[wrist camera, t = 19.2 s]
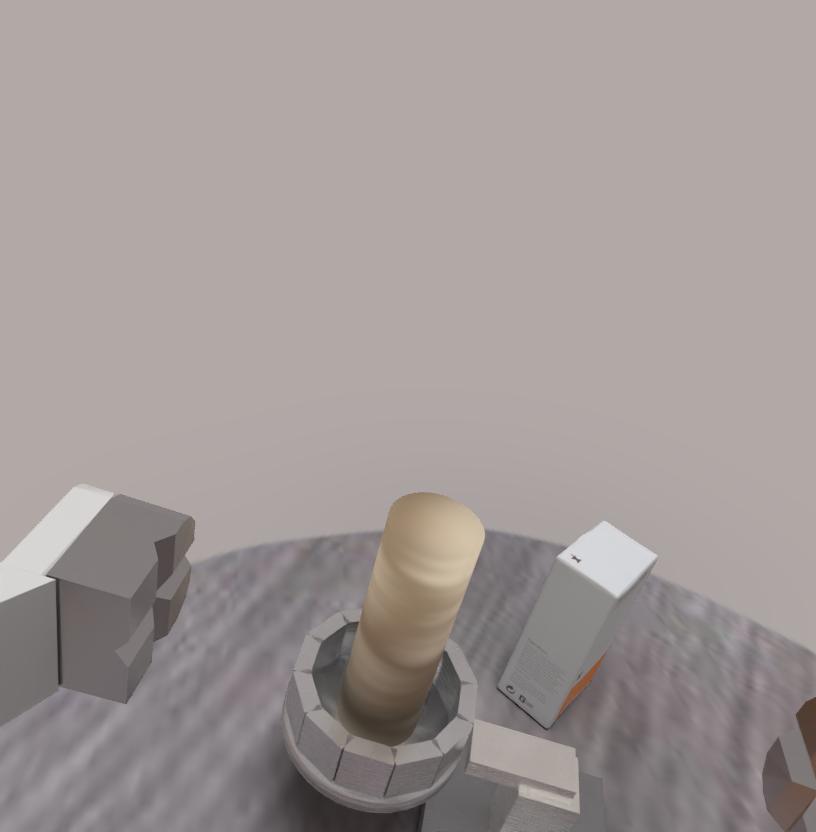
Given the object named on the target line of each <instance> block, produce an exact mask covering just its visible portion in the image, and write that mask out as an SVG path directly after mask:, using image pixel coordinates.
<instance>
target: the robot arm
mask: <svg viewBox="0 0 816 832" xmlns="http://www.w3.org/2000/svg"><path fill="white" fill-rule="evenodd" d="M194 529H195V520H193V518H192V517H191V516H188V515H185V514H182V513H178V512H175V511H172V510H169V509H166V508H162V507H159V506H156V505H153V504H149V503H146V502H144V501H140V500H137V499H134V498H130V497H127V496H124V495H121V494H119V495H118V494H115V493H112V492H109V491H105V490H102V489H99V488H96V487H93V486H90V485H87V484H84V483H83V484H80V485H78V486H75V487H73V488H72V489H71V490H70V491H69V492H68V493H67V494H66V495H65V496H64V497H63V498H62V499H61V500H60V501H59V502H58V503H57V504H56V505H55V506H54V507H53V508H52V509H51V510H50V511H49V512H48V513H47V514H46V515H45V517H44V518H43V519H42V520H41V521H40V522H39V523H38V524H37V525H36V526H35V527H34V528H33V529H32V530H31V531H30V532H29V533H28V534H27V535H26V536H25V537H24V538H23V539H22V541H21V542H19V543H18V545H17V546H16V547H15V548H14V549H13V550H12V551H11V552H10V553H9V554H8V555H7V556H6V557H5V558H4V559H3V560H2V561H1V562H0V727H1V726H2V725H4V724H6V723H7V722H9V721H10V720H12V719H14V718H15V717H17V716H18V715H20V714H22V713H23V712H25V711H27V710H28V709H30V708H31V707H33V706H35V705H36V704H38V703H39V702H41V701H43V700H44V699H46V698H47V697H49V696H51V695H52V694H54V693H55V692H57V691H58V689H59V687H63V688H67V689H71V690H75V691H78V692H82V693H86V694H90V695H93V696H97V697H101V698H105V699H108V700H112V701H116V702H120V703H124V704H127V702H128V700H129V699H130V697H131V695H132V694H133V692H134V690H135V689H136V687H137V685H138V684H139V682H140V680H141V679H142V677H143V675H144V674H145V672H146V670H147V669H148V667H149V665H150V664H151V662H152V650H153V642H155V641H157V640H159V639H161V638H163V637H165V636H167V635H168V633H169V631H170V630H171V628H172V626H173V624H174V623H175V621H176V619H177V617H178V615H179V612H180V610H181V607H182V605H183V602H184V600H185V597H186V593H187V589H188V585H189V581H190V574H191V565H190V563H189V561H188V560H187V558H186V557H185V554H186V552H187V551H188V549H189V547H190V546H191V544H192V543H193V541H194ZM796 718H797V722H798V727H799V729H797V730H794V731H791V732H789V733H786V734H784V735H781V736H779V737H778V738H777V739H776V741H775V742H774V744H773V745H772V747H771V748H770V750H769V751H768V753H767V756H766V760H765V764H764V769H763V773H762V778H763V793H764V798H765V802H766V806H767V810H768V812H769V813H770V814H771V816H772V817H773V818H774V819H775V821H776V822H777V823H778V824H779V826H780V827H781V828H782V829H783V831H784V832H816V697H815V698H813V699H811V700H808V701H806V702H805V703H804V705H803V706H802V707H801V708H800V710H799V711H798V712H797V713H796Z"/></svg>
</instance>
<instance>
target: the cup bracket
mask: <svg viewBox="0 0 816 832" xmlns="http://www.w3.org/2000/svg"><path fill="white" fill-rule="evenodd" d="M362 610H363V608H362V609H353V610H344V611H341V612H338V613H336V614H335V615H333V616H332V617H330V618H329V619H327V620H326V621H324V622H323V623H322V624H320V625H319V626H317V627H316V628H314V629H313V630H311V631H310V632H309V633H308V634H307V635H306V637H305V640H304V643H303V645H302V648H301V651H300V653H299V656H298V659H297V661H296V664H295V667H294V669H293V673H292V678H291V681H290V683H289V685H288V688H287V692H286V695H285V700H284V705H283V710H282V718H281V721H282V734H283V740H284V743H285V746H286V749H287V752H288V754H289V756H290V758H291V760H292V762H293V764H294V765H295V767H296V768H297V770H298V771H299V773H300V774H301V775H302V776H303V777H304V779H305V780H306V781H307V782H308V783H309V784H310V785H311V786H313V787H314V788H315V789H316V790H317V791H318V792H320V793H321V794H323V795H324V796H326V797H327V798H329V799H331V800H333V801H335V802H336V803H338V804H341V805H343V806H346V807H349V808H351V809H355V810H359V811H364V812H371V813H393V812H399V811H405V810H408V809H411V808H414V807H417V806H419V805H421V804H422V805H421V812H420V818H419V824H418V831H417V832H606V829H605V814H604V798H603V783H602V779H601V778H598V777H594V776H591V775H587V774H584V773H581V772H578V758H576V757H575V748H572V747H569V746H565V745H562V744H559V743H555V742H552V741H548V740H545V739H542V738H538V737H535V736H531V735H528V734H525V733H521V732H518V731H515V730H511V729H508V728H504V727H501V726H498V725H494V724H491V723H488V722H484V721H481V720H477V719H475V709H476V700H477V690H478V685H477V684H478V683H477V681H476V679H475V677H474V675H473V673H472V671H471V669H470V667H469V665H468V663H467V661H466V658H465V656H464V654H463V652H462V650H461V648H460V647H458V646H459V645H457V644H456V643H455V642H453V641H452V640H451V639H450V638H448V641H447V643H446V646H445V649H444V651H443V654H442V657H441V660H440V662H439V665H438V668H437V671H436V673H435V676H434V679H433V681H432V684H431V687H430V690H429V692H428V695H427V698H426V701H425V703H424V706H423V709H422V712H421V714H420V717H419V720H418V722H417V725H416V728H415V730H414V732H413V733H412V735H411V736H410V737H409V738H408V739H407V740H406V741H405V742H403V743H401V744H399V745H397V746H394V747H390V746H386V745H383V744H380V743H376V742H373V741H370V740H366V739H363V738H360V737H356V736H353V735H351V734H350V733H349V732H348V731H347V730H346V729H345V728H344V727H343V726H342V725H341V723H340V721H339V718H338V714H337V702H338V698H339V694H340V690H341V687H342V683H343V679H344V676H345V672H346V668H347V665H348V661H349V657H350V654H351V650H352V646H353V643H354V639H355V635H356V632H357V628H358V624H359V621H360V617H361V613H362ZM467 738H468V739H467Z"/></svg>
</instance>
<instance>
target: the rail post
mask: <svg viewBox="0 0 816 832" xmlns="http://www.w3.org/2000/svg"><path fill="white" fill-rule="evenodd" d="M484 538H485V532H484V528H483V525H482V523H481V521H480V520H479V518H478V517H477V516H476V515H475V514H474V513H473V512H472V511H471V510H470V509H469V508H467V507H466V506H465V505H463V504H461V503H460V502H458V501H456V500H454V499H451V498H449V497H446V496H443V495H439V494H434V493H413V494H408V495H406V496H403V497H401V498H399V499H398V500H396V501H395V502H394V503H393V505H392V506H391V508H390V511H389V515H388V518H387V522H386V526H385V529H384V533H383V536H382V540H381V544H380V547H379V551H378V555H377V558H376V562H375V566H374V569H373V573H372V577H371V580H370V584H369V588H368V591H367V595H366V599H365V602H364V606H363V610H362V613H361V617H360V621H359V624H358V628H357V632H356V635H355V639H354V643H353V646H352V650H351V654H350V657H349V661H348V665H347V668H346V672H345V676H344V679H343V683H342V687H341V690H340V694H339V698H338V702H337V714H338V718H339V721H340V723H341V725H342V726H343V727H344V728H345V729H346V730H347V731H348V732H349V733H350V734H351V735H353V736H356V737H360V738H363V739H366V740H370V741H373V742H376V743H380V744H383V745H386V746H390V747H394V746H397V745H399V744H401V743H403V742H405V741H406V740H407V739H408V738H409V737H410V736H411V735H412V733H413V732H414V730H415V728H416V725H417V722H418V720H419V717H420V714H421V712H422V709H423V706H424V703H425V701H426V698H427V695H428V692H429V690H430V687H431V684H432V681H433V679H434V676H435V673H436V671H437V668H438V665H439V662H440V660H441V657H442V654H443V651H444V649H445V646H446V643H447V641H448V638H449V635H450V632H451V630H452V627H453V624H454V621H455V619H456V616H457V613H458V610H459V608H460V605H461V602H462V600H463V597H464V594H465V591H466V589H467V586H468V583H469V580H470V578H471V575H472V572H473V569H474V567H475V564H476V561H477V559H478V556H479V553H480V550H481V548H482V545H483V542H484Z"/></svg>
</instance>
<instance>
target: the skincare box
mask: <svg viewBox="0 0 816 832" xmlns="http://www.w3.org/2000/svg"><path fill="white" fill-rule="evenodd" d="M657 559H658V556H657V555H656V554H654V553H652V552H651V551H650V550H648V549H646V548H645V547H644V546H642V545H640V544H639V543H637V542H636V541H634V540H632V539H631V538H630V537H628V536H627V535H625V534H624V533H622V532H621V531H619V530H618V529H616V528H615V527H613V526H612V525H610V524H609V523H607V522H606V521H601V522H600V523H599V524H598V525H596V526H595V527H594V528H592V529H591V530H590V531H589V532H587V533H585V534H584V535H582V536H581V537H579V538H578V539H577V540H576V541H575V542H574V543H573V544H572V545H570V546H569V547H568V548H567V549H566V550H564V551H563V552H562V553H561V554H559V555H558V556H557V557H556V559H555V561H554V563H553V565H552V567H551V569H550V572H549V574H548V576H547V578H546V580H545V583H544V585H543V587H542V590H541V592H540V594H539V596H538V598H537V600H536V602H535V605H534V607H533V609H532V611H531V614H530V616H529V618H528V620H527V622H526V625H525V627H524V629H523V631H522V633H521V636H520V638H519V640H518V642H517V644H516V646H515V648H514V651H513V653H512V655H511V657H510V659H509V661H508V664H507V666H506V668H505V670H504V673H503V675H502V677H501V679H500V681H499V684H498V688H499V689H500V690H501V691H502V692H503V693H504V694H505V695H507V696H508V697H509V698H510V699H511V700H512V701H514V702H515V703H516V704H517V705H519V706H520V707H521V708H522V709H523V710H525V711H526V712H527V713H528V714H529V715H530V716H532V717H533V718H534V719H535V720H536V721H537V722H539V723H540V724H541V725H542V726H543V727H545V728H549V727H550V726H551V725H552V724H553V723H554V721H555V720H556V719H557V718H558V717H559V715H560V714H561V713H562V712H563V711H564V710H565V709H566V707H567V706H568V705H569V704H570V703H571V702H572V701H573V700H574V699H575V698H576V697H577V696H578V695H579V693H580V692H581V691H582V690H583V689H584V688H585V687H586V686H587V685H588V684H589V683H590V682H591V680H592V678H593V676H594V674H595V672H596V671H597V669H598V667H599V665H600V663H601V662H602V660H603V658H604V656H605V654H606V653H607V651H608V649H609V647H610V645H611V643H612V642H613V640H614V638H615V636H616V634H617V632H618V631H619V629H620V627H621V625H622V623H623V622H624V620H625V618H626V616H627V614H628V612H629V611H630V609H631V607H632V605H633V603H634V601H635V600H636V598H637V596H638V594H639V592H640V590H641V589H642V587H643V585H644V583H645V581H646V579H647V578H648V576H649V574H650V572H651V570H652V568H653V566H654V565H655V562H656V561H657Z"/></svg>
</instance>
